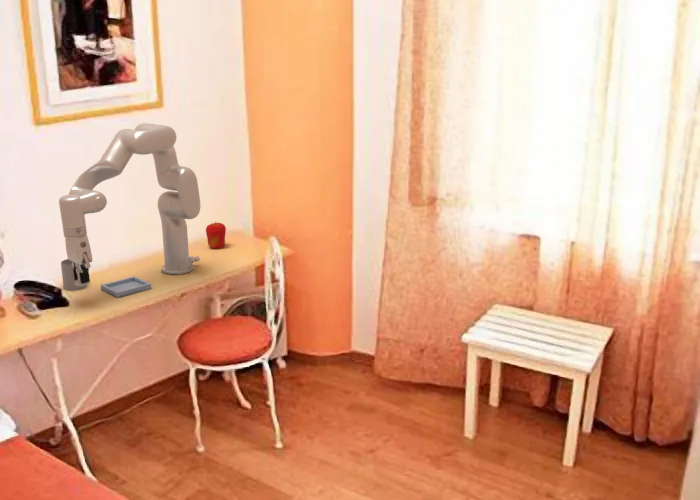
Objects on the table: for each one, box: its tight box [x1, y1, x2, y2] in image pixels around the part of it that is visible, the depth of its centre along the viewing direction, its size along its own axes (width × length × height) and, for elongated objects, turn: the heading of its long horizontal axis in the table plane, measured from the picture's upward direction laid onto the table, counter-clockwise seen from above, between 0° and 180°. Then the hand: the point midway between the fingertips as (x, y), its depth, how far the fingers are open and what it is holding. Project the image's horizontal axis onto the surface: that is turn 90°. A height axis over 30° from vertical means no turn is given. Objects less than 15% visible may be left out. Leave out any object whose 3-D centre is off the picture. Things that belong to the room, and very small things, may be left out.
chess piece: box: [74, 261, 91, 286], centre depth 283 cm, size 5×5×9 cm
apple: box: [205, 221, 227, 250], centre depth 349 cm, size 9×8×12 cm
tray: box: [100, 276, 153, 299], centre depth 300 cm, size 14×12×2 cm
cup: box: [60, 258, 88, 292], centre depth 302 cm, size 8×8×10 cm
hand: (82, 280), depth 284 cm, fingers closed on chess piece, 3 cm apart
